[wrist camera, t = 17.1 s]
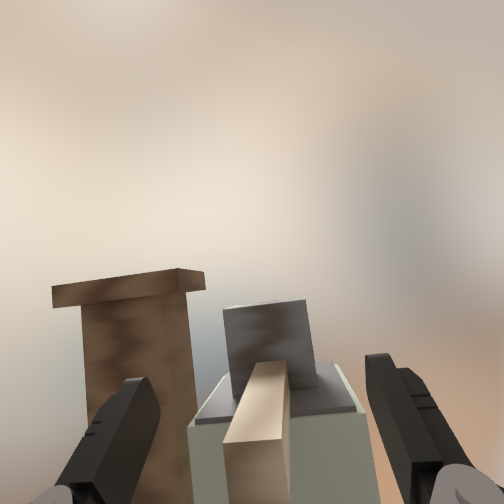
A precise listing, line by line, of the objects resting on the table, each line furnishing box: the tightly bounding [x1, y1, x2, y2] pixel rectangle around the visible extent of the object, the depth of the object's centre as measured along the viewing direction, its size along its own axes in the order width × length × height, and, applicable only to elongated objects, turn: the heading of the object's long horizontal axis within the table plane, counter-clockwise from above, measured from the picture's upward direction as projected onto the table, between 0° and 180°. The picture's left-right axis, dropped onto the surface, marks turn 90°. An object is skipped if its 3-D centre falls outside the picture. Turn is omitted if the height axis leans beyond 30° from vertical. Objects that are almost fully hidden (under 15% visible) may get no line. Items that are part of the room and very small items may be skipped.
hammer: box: [222, 297, 319, 504], centre depth 21 cm, size 7×17×7 cm, turn 173°
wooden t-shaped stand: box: [52, 268, 206, 504], centre depth 29 cm, size 12×8×32 cm, turn 83°
